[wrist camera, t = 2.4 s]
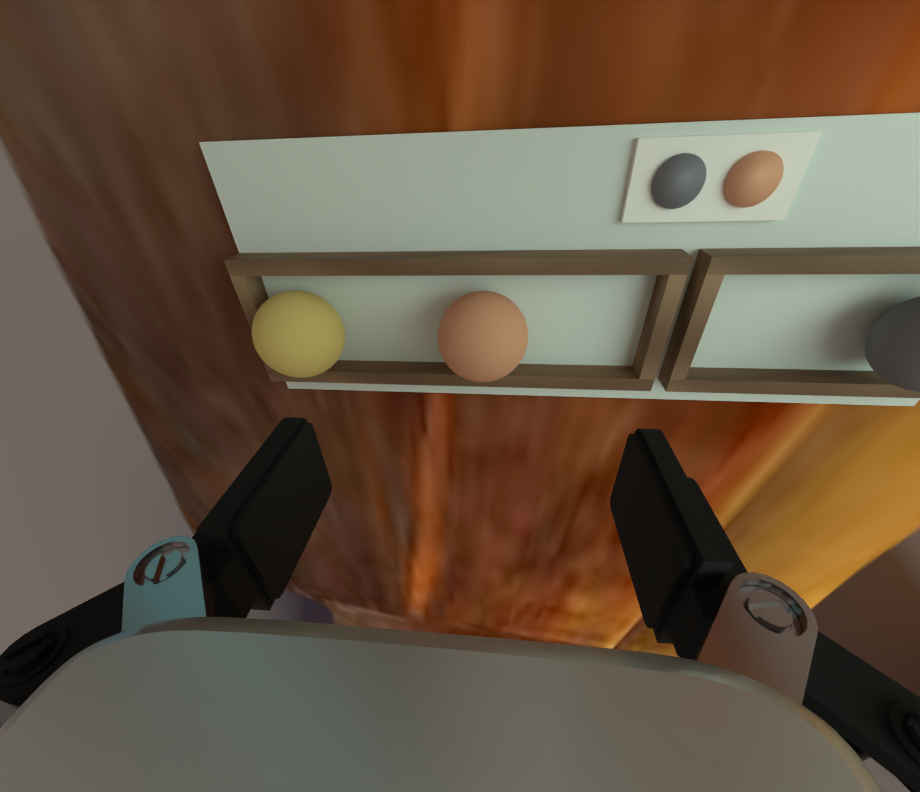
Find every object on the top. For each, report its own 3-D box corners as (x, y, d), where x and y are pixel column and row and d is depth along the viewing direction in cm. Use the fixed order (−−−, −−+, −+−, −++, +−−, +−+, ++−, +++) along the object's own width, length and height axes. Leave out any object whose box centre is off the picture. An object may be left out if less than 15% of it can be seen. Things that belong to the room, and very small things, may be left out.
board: (217, 141, 16) (190, 142, 15) (1117, 104, 13) (1191, 101, 11) (297, 377, 23) (284, 393, 22) (893, 392, 20) (923, 412, 18)
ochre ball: (267, 278, 18) (216, 311, 15) (347, 278, 18) (312, 311, 15) (292, 351, 21) (252, 393, 17) (363, 352, 20) (335, 395, 17)
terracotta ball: (441, 277, 17) (426, 312, 14) (529, 277, 17) (534, 313, 14) (446, 353, 20) (434, 398, 16) (523, 355, 19) (527, 401, 16)
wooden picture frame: (239, 253, 18) (223, 260, 17) (681, 248, 16) (693, 256, 15) (281, 369, 21) (270, 381, 20) (643, 377, 19) (650, 391, 18)
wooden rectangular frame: (699, 248, 16) (712, 256, 15) (1039, 245, 14) (1078, 254, 13) (657, 378, 19) (665, 391, 18) (925, 384, 18) (948, 399, 17)
